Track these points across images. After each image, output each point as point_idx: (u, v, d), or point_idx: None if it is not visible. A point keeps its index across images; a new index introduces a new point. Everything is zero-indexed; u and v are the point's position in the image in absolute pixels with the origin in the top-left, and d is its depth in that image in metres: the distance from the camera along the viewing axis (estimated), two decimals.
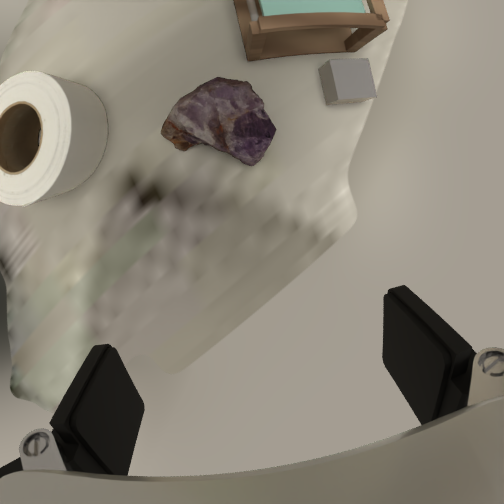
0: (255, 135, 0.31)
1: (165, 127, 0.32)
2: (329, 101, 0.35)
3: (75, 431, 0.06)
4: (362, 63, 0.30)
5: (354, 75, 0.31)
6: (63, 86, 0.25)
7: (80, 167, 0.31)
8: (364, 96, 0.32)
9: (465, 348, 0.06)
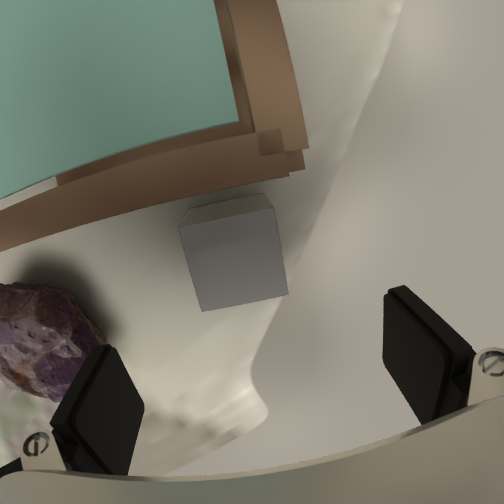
0: (68, 382, 0.17)
1: None
2: None
3: (75, 431, 0.06)
4: (258, 223, 0.16)
5: (237, 257, 0.17)
6: None
7: None
8: (259, 298, 0.18)
9: (465, 348, 0.06)
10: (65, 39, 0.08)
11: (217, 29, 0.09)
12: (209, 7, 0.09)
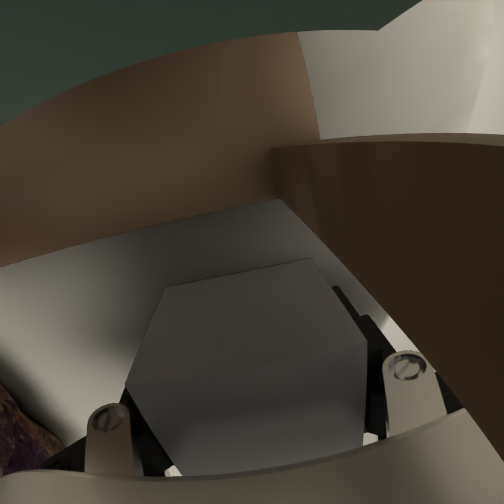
0: None
1: None
2: None
3: None
4: (324, 378, 0.06)
5: (268, 435, 0.06)
6: None
7: None
8: None
9: (375, 349, 0.07)
10: None
11: None
12: None
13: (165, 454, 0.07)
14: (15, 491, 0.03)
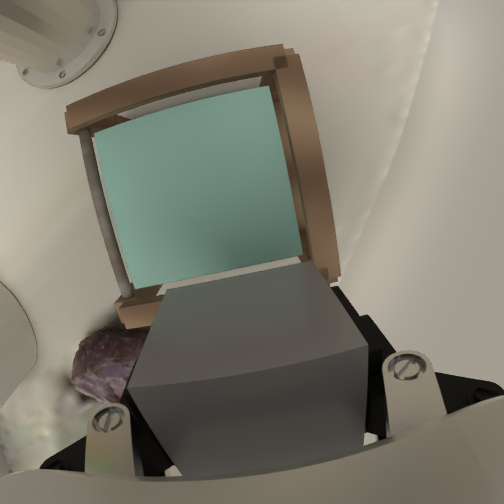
0: None
1: None
2: None
3: None
4: (325, 381, 0.06)
5: (269, 438, 0.06)
6: None
7: (16, 384, 0.27)
8: None
9: (374, 349, 0.07)
10: (188, 189, 0.18)
11: (291, 197, 0.18)
12: (285, 180, 0.18)
13: (165, 454, 0.07)
14: (15, 491, 0.03)
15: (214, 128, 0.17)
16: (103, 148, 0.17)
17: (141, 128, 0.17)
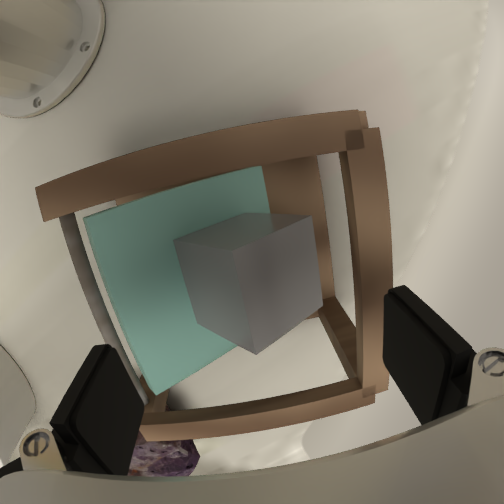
0: (174, 470, 0.23)
1: None
2: (212, 327, 0.16)
3: (75, 431, 0.06)
4: (301, 234, 0.15)
5: (286, 276, 0.14)
6: None
7: (18, 440, 0.23)
8: (303, 317, 0.16)
9: (465, 348, 0.06)
10: None
11: None
12: None
13: None
14: (15, 491, 0.03)
15: (222, 210, 0.18)
16: (102, 239, 0.13)
17: (150, 212, 0.15)
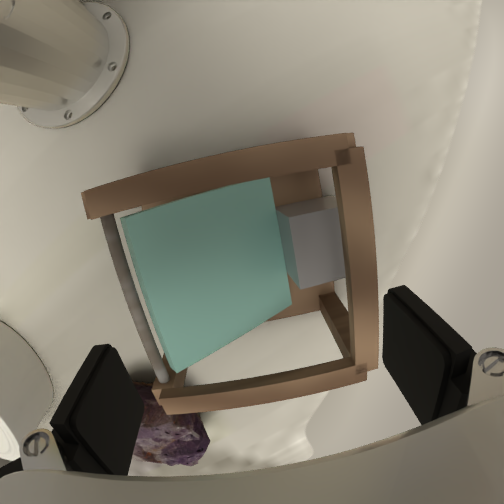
0: (186, 454, 0.25)
1: None
2: (322, 279, 0.21)
3: (75, 431, 0.06)
4: None
5: None
6: None
7: (35, 429, 0.26)
8: None
9: (465, 348, 0.06)
10: (220, 270, 0.21)
11: (284, 263, 0.24)
12: (280, 251, 0.24)
13: None
14: (15, 491, 0.03)
15: (236, 214, 0.21)
16: (137, 235, 0.17)
17: (177, 214, 0.18)
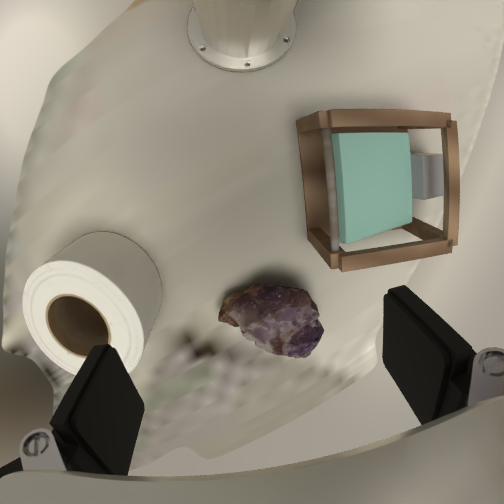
0: (307, 342, 0.36)
1: (224, 319, 0.37)
2: (431, 195, 0.32)
3: (75, 431, 0.06)
4: None
5: None
6: (126, 290, 0.29)
7: None
8: None
9: (465, 348, 0.06)
10: (380, 182, 0.30)
11: (411, 192, 0.32)
12: (410, 182, 0.32)
13: None
14: (15, 491, 0.03)
15: (391, 150, 0.29)
16: (343, 145, 0.26)
17: (363, 140, 0.27)
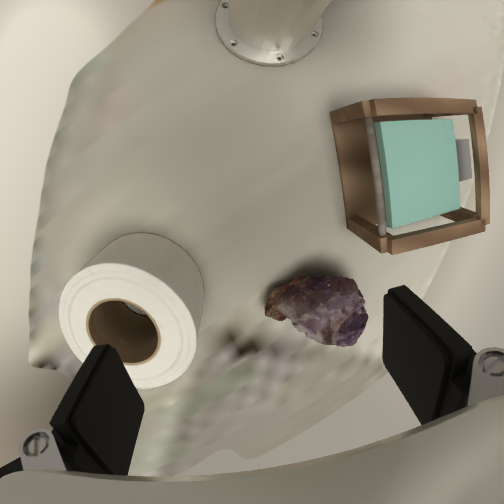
0: (354, 329, 0.36)
1: (271, 313, 0.37)
2: (460, 178, 0.31)
3: (75, 431, 0.06)
4: None
5: None
6: (176, 289, 0.29)
7: None
8: None
9: (465, 348, 0.06)
10: (424, 168, 0.28)
11: (458, 178, 0.29)
12: (456, 169, 0.29)
13: None
14: (15, 491, 0.03)
15: (434, 137, 0.27)
16: (385, 133, 0.26)
17: (405, 127, 0.26)
